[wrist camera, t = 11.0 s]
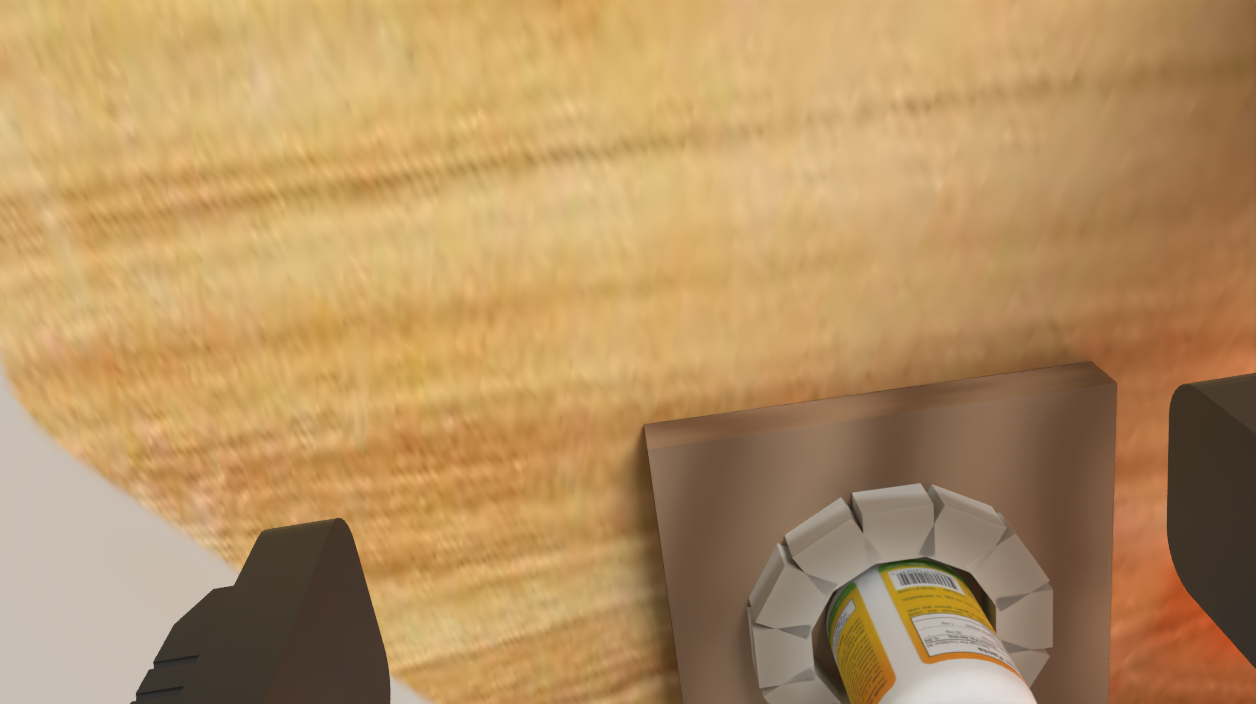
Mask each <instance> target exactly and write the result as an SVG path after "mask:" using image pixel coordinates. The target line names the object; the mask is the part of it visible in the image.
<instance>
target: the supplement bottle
mask: <svg viewBox="0 0 1256 704" xmlns="http://www.w3.org/2000/svg"><path fill="white" fill-rule="evenodd" d="M826 628H827V636H828V639H829V643H830V647H831V650H832V653H833V655H834V658H835V661H836V664H837V666H838V669H839V672H840V675H841V677H842V680H843V683H844V686H845V689H846V691H847V694H848V697H849V700H850V703H851V704H1037V702H1036V700H1035V698H1034V696H1033V694H1032V692H1031V690H1030V689H1029V687H1028V686H1027V684H1026V682H1025V680H1024V679H1023V678H1022V676H1021V674H1020V673H1019V671H1018V670H1017V668H1016V666H1015V665H1014V663H1013V661H1012V660H1011V658H1010V656H1009V655H1008V653H1007V651H1006V650H1005V648H1004V646H1003V644H1002V643H1001V641H1000V639H999V638H998V636H997V634H996V633H995V631H994V629H993V628H992V626H991V624H990V622H989V621H988V619H987V617H986V616H985V614H984V612H983V611H982V609H981V607H980V606H979V604H978V602H977V601H976V599H975V597H974V596H973V594H972V592H971V591H970V589H969V588H968V586H967V584H966V583H965V581H964V580H963V579H962V577H961V576H960V575H959V574H958V573H957V572H956V571H955V570H954V569H952V568H951V567H950V566H948V565H947V564H945V563H942V562H939V561H936V560H934V559H931V558H928V557H921V558H914V559H907V560H900V561H893V562H885V563H878V564H874V565H873V566H871V567H870V568H868V569H867V570H865V571H864V572H862V573H861V574H859V575H858V576H856V577H855V578H853V579H852V580H850V581H849V582H847V583H846V584H844V585H842V586H841V587H839V588H838V590H837V591H836V593H835V595H834V597H833V599H832V600H831V603H830V606H829V609H828V613H827V620H826Z"/></svg>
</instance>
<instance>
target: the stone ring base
mask: <svg viewBox="0 0 1256 704" xmlns="http://www.w3.org/2000/svg"><path fill="white" fill-rule="evenodd" d="M1116 403H1117V383H1116V382H1115V381H1114V380H1113V379H1112V378H1110V377H1109V376H1108V375H1107V374H1106V373H1105V372H1103V371H1102V370H1101V369H1100V368H1099V367H1098V366H1096V365H1095V364H1094V363H1093V362H1092V361H1091V362H1084V363H1077V364H1070V365H1063V366H1056V367H1049V368H1042V369H1035V370H1028V371H1020V372H1013V373H1006V374H999V375H992V376H985V377H978V378H971V379H964V380H957V381H950V382H943V383H935V384H928V385H921V386H914V387H907V388H900V389H893V390H886V391H879V392H872V393H865V394H858V395H850V396H843V397H836V398H829V399H822V400H815V401H808V402H801V403H794V404H787V405H780V406H773V407H765V408H758V409H751V410H744V411H737V412H730V413H723V414H716V415H709V416H702V417H695V418H688V419H680V420H673V421H666V422H659V423H652V424H645V425H644V429H645V436H646V443H647V450H648V457H649V464H650V472H651V479H652V486H653V493H654V500H655V507H656V514H657V522H658V529H659V536H660V543H661V550H662V557H663V565H664V572H665V579H666V586H667V593H668V600H669V607H670V615H671V622H672V629H673V636H674V643H675V650H676V658H677V665H678V672H679V679H680V686H681V693H682V700H683V704H851V703H850V700H849V697H848V694H847V691H846V689H845V686H844V683H843V680H842V677H841V675H840V672H839V669H838V666H837V664H836V661H835V658H834V655H833V653H832V650H831V647H830V643H829V639H828V636H827V628H826V620H827V613H828V609H829V606H830V603H831V600H832V599H833V597H834V595H835V593H836V591H837V590H838V588H839V587H841V586H842V585H844V584H846V583H847V582H849V581H850V580H852V579H853V578H855V577H856V576H858V575H859V574H861V573H862V572H864V571H865V570H867V569H868V568H870V567H871V566H873V565H874V564H878V563H885V562H893V561H900V560H907V559H914V558H921V557H928V558H931V559H934V560H936V561H939V562H942V563H945V564H947V565H948V566H950V567H951V568H952V569H954V570H955V571H956V572H957V573H958V574H959V575H960V576H961V577H962V579H963V580H964V581H965V583H966V584H967V586H968V588H969V589H970V591H971V592H972V594H973V596H974V597H975V599H976V601H977V602H978V604H979V606H980V607H981V609H982V611H983V612H984V614H985V616H986V617H987V619H988V621H989V622H990V624H991V626H992V628H993V629H994V631H995V633H996V634H997V636H998V638H999V639H1000V641H1001V643H1002V644H1003V646H1004V648H1005V650H1006V651H1007V653H1008V655H1009V656H1010V658H1011V660H1012V661H1013V663H1014V665H1015V666H1016V668H1017V670H1018V671H1019V673H1020V674H1021V676H1022V678H1023V679H1024V680H1025V682H1026V684H1027V686H1028V687H1029V689H1030V690H1031V692H1032V694H1033V696H1034V698H1035V700H1036V702H1037V704H1108V696H1109V660H1110V623H1111V586H1112V550H1113V513H1114V477H1115V440H1116Z"/></svg>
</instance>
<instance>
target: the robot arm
mask: <svg viewBox="0 0 1256 704" xmlns="http://www.w3.org/2000/svg"><path fill="white" fill-rule="evenodd" d="M1167 536H1168V544H1169V549H1170V553H1171V557H1172V560H1173V563H1174V566H1175V569H1176V571H1177V574H1178V576H1179V578H1180V580H1181V582H1182V584H1183V585H1184V587H1185V589H1186V590H1187V592H1188V593H1189V594H1190V595H1191V597H1192V598H1193V599H1194V600H1195V601H1196V602H1197V603H1198V604H1199V606H1200V607H1201V608H1202V609H1203V610H1204V611H1205V612H1206V613H1207V614H1208V616H1209V617H1210V618H1211V619H1212V620H1213V621H1214V622H1215V623H1216V625H1217V626H1218V627H1219V628H1220V629H1221V630H1222V631H1223V632H1224V634H1225V635H1226V636H1227V637H1228V638H1229V639H1230V640H1231V641H1232V643H1233V644H1234V645H1235V646H1236V647H1237V648H1238V649H1239V650H1240V652H1241V653H1242V654H1243V655H1244V656H1245V657H1246V658H1247V659H1248V660H1249V662H1250V663H1251V664H1252V665H1253V666H1254V667H1255V668H1256V373H1252V374H1245V375H1239V376H1233V377H1227V378H1220V379H1214V380H1208V381H1202V382H1196V383H1189V384H1183V385H1181V386H1179V387H1178V388H1177V389H1176V390H1175V392H1174V394H1173V396H1172V399H1171V403H1170V410H1169V446H1168V495H1167ZM153 663H154V669H150V670H149V671H148V673H147V674H146V676H145V678H144V680H143V681H142V683H141V685H140V687H139V689H138V691H137V693H136V701H133V702H131V703H130V704H390V677H389V668H388V662H387V657H386V652H385V648H384V644H383V641H382V637H381V634H380V630H379V627H378V623H377V620H376V616H375V612H374V609H373V605H372V602H371V598H370V595H369V591H368V588H367V584H366V581H365V577H364V573H363V570H362V566H361V563H360V559H359V556H358V552H357V549H356V545H355V542H354V539H353V536H352V533H351V531H350V529H349V527H348V525H347V524H346V522H345V521H344V520H343V519H341V518H335V519H329V520H323V521H316V522H310V523H304V524H298V525H291V526H285V527H279V528H273V529H267V530H264V531H262V532H261V533H260V535H259V537H258V538H257V540H256V542H255V544H254V546H253V548H252V550H251V552H250V554H249V556H248V558H247V560H246V562H245V564H244V566H243V568H242V570H241V572H240V574H239V576H238V578H237V581H236V582H235V584H234V586H230V587H223V588H218V589H213V590H212V591H211V592H210V593H208V594H207V595H206V596H205V597H204V598H203V599H202V600H201V601H200V602H199V603H197V604H196V605H195V606H194V607H193V608H192V609H191V610H190V611H189V612H187V613H186V614H185V615H184V616H183V617H182V618H181V619H180V620H179V621H178V622H176V623H175V624H174V626H173V627H172V629H171V631H170V633H169V635H168V636H167V638H166V640H165V642H164V644H163V646H162V647H161V649H160V651H159V653H158V655H157V656H156V658H155V660H154V662H153Z"/></svg>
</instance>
